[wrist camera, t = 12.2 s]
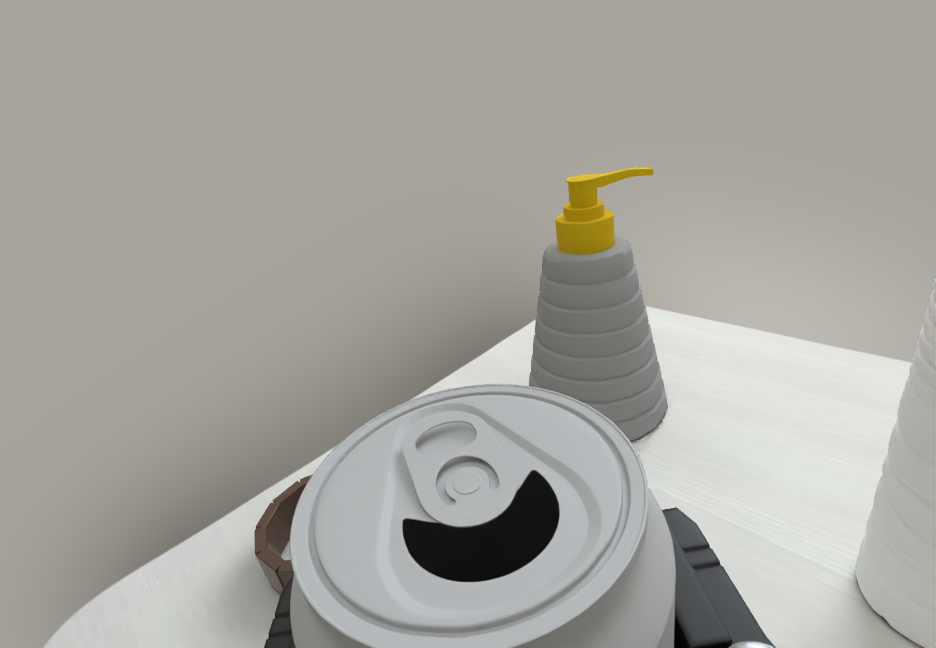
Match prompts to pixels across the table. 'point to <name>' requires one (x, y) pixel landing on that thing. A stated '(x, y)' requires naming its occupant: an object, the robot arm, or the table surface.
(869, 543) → the water bottle
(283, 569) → the can holder
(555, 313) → the soap bottle
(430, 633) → the beverage can
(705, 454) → the table surface
